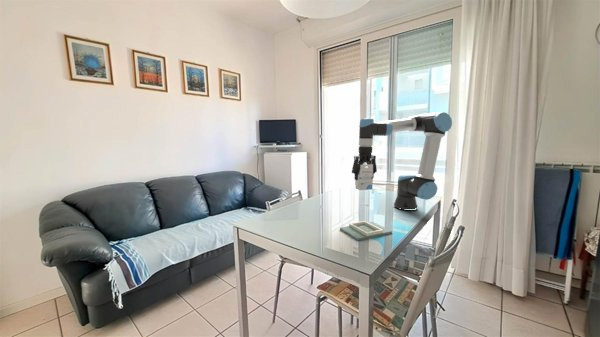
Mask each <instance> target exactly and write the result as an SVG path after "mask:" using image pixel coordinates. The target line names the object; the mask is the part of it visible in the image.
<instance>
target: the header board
mask: <svg viewBox="0 0 600 337" xmlns="http://www.w3.org/2000/svg"><path fill="white" fill-rule="evenodd" d="M348 224H349V225H346V226H342V227H339V230H340V231H341V232H342V233H344V234H345V235H347V236H349V237H351V238H352V239H354V240H356V241H357V242H359V241H363V240H368V239H373V238H377V237H381V236H387V235H390V234H391V235H392V233H393V230H391V229H388V228H386V227H384V226H382V225H380V224H378V223H376V222H374V221H370V222H368V221H366V220H362V221H361V220H360V221H356V222H355V221H354V222H350V223H348Z"/></svg>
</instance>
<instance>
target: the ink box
mask: <svg viewBox="0 0 600 337" xmlns="http://www.w3.org/2000/svg"><path fill="white" fill-rule="evenodd" d="M359 175H360V177H359V186H357V185H355V189H356V190H358V191H367V190H373V180H374V178H373V164H372V163H371V164H367V163H366V164H363V165H360V171H359Z"/></svg>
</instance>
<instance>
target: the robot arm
mask: <svg viewBox="0 0 600 337" xmlns="http://www.w3.org/2000/svg"><path fill="white" fill-rule="evenodd" d="M452 126H453V120H452V117H451V115H450V114H449V113H447V112H444V111H442V112H441V111H437V112H427V113H423V114H418V115H413V116H409V117H408V118H401V119H394V120H386V121H385V120H383V121H379V122H375V121H374V118H361V119H360V121H359V129H358V130H359V133H358V134H359V138H358V155H354V156H353V160H354V161H353V164H352V168H351V174H354V182H355V183H354V185H355V186H356V185H357V186H359V177H360V175H359V171H360V165H365V164H364V163H366V165H367V164H373V179H374V177H375V176H374V175H375V174H376V173H377V171H378V169H377V163H376V157H377V155H372V153H373V142H374V140H373V139H374V137H375V136H377V137H378V136H382V137H383V136H384V137H386V136H388V137H389V136H390V135H391V134H392V133H398V132H405V131H409V132H423V135H425V137H424V138H425V140H424V144H423V149H422V153H421V158H420V162H419V168H418V171H417V174H406V175H405V174H401V175H399V176H398V178H397V192H396V194H397V195H396V197H395V201H394V203H393V207H394V206H395V207H397V208H401V209H415V208H417V207H418V203H417V199H416V197H417V198H418V199H421V200H425V201H427V200H431V199H433V198H434V197H435V195H436V194H437V192H438V186H437V183H435V181H436V179H435V177H434V172H435V169H436V164H437V160H438V154H439V151H440V150H439V149H440V147H441V141H442V138H443V137H445V136H446V133H447V132H448V131H450V130H451V128H452ZM395 207H394V208H395ZM418 208H419V207H418ZM418 208H417V209H418Z"/></svg>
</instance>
